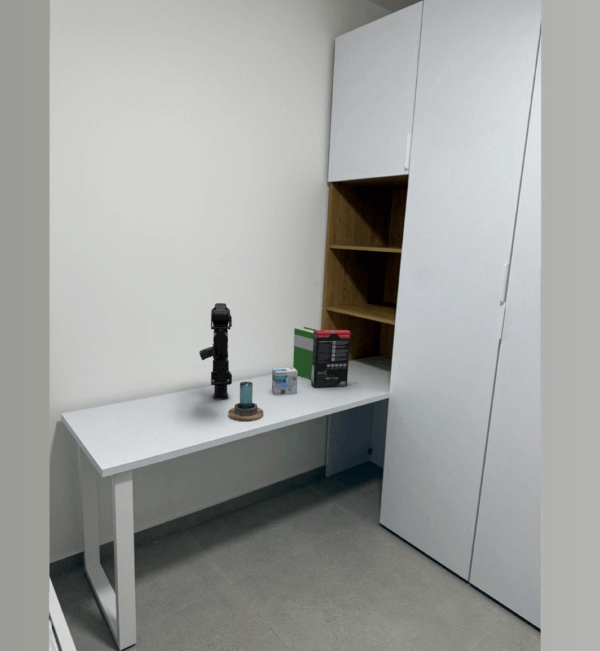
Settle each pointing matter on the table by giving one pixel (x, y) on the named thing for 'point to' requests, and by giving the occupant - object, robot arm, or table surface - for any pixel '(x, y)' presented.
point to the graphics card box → (330, 358)
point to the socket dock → (245, 413)
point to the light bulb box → (284, 380)
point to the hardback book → (303, 351)
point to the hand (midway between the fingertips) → (220, 378)
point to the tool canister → (246, 395)
